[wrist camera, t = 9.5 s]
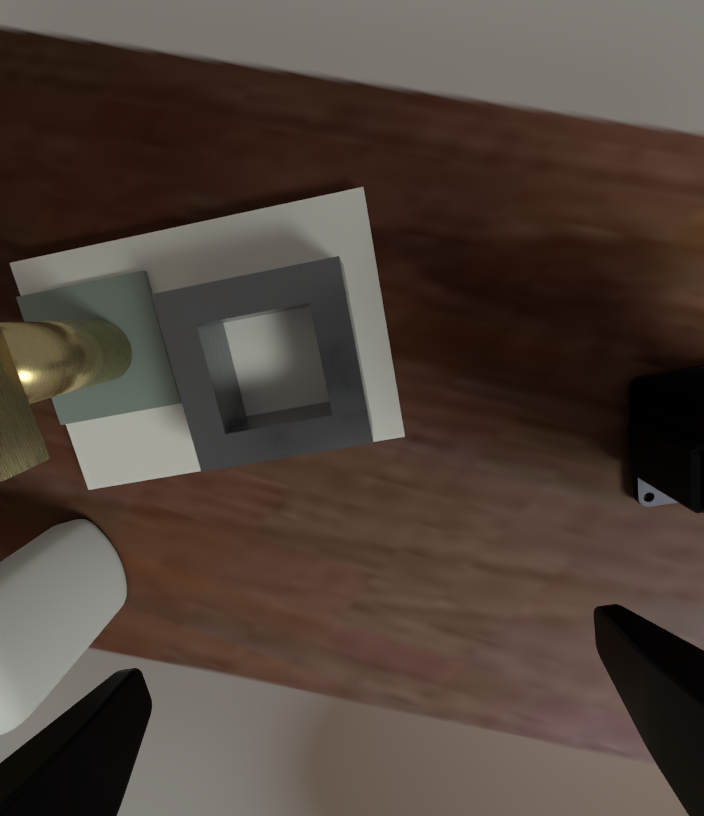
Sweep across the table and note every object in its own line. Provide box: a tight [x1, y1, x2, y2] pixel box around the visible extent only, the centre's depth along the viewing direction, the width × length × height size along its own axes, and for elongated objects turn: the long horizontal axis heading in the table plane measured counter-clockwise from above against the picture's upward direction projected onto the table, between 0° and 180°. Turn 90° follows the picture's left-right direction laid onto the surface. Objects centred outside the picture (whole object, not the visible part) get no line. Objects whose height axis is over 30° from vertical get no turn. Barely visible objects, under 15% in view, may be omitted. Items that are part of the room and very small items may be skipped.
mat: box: [16, 271, 182, 425], centre depth 19 cm, size 6×6×1 cm
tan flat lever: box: [0, 319, 132, 481], centre depth 15 cm, size 6×3×8 cm, turn 11°
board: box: [9, 187, 405, 490], centre depth 19 cm, size 16×11×1 cm
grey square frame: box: [151, 256, 373, 472], centre depth 17 cm, size 7×7×3 cm
